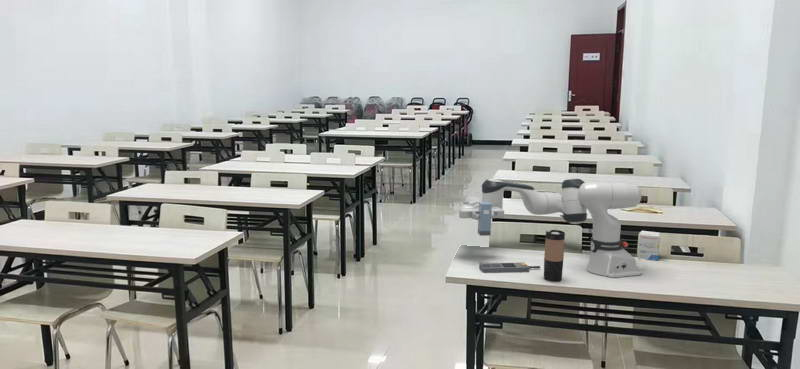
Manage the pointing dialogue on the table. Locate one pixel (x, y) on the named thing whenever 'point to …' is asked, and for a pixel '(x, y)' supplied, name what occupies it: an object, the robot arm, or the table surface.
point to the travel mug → (554, 255)
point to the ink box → (649, 245)
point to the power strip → (504, 267)
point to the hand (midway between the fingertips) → (485, 216)
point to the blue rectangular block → (484, 218)
